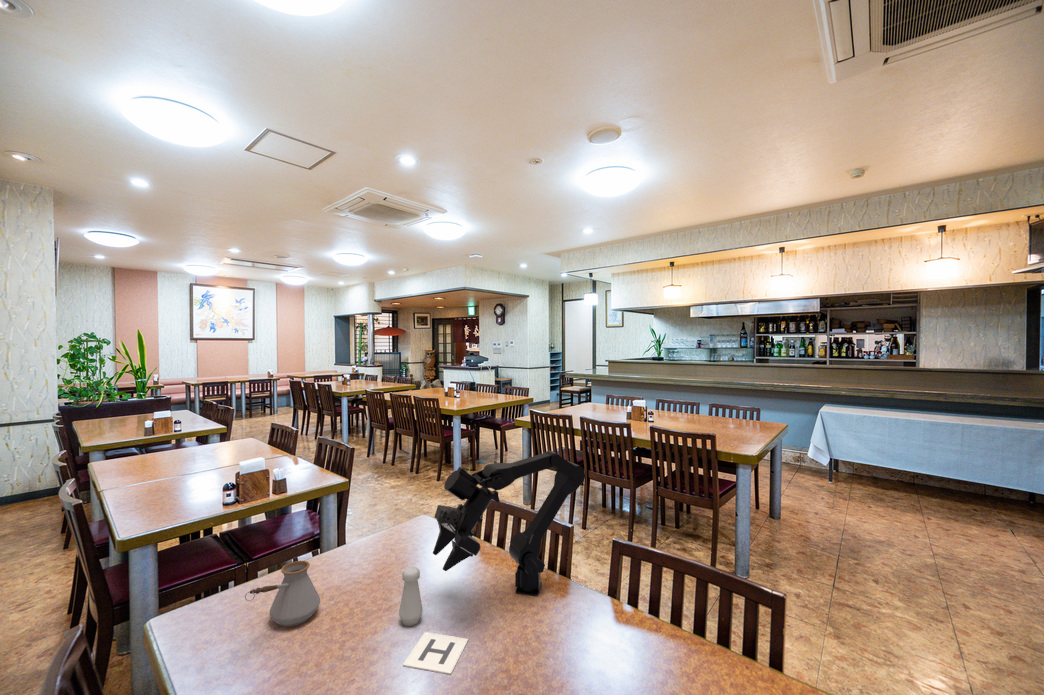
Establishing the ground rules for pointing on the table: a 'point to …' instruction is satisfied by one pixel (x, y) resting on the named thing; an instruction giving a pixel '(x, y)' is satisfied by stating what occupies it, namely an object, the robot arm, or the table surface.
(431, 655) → the letter card
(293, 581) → the coffee pot
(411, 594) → the salt shaker
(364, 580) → the table surface
